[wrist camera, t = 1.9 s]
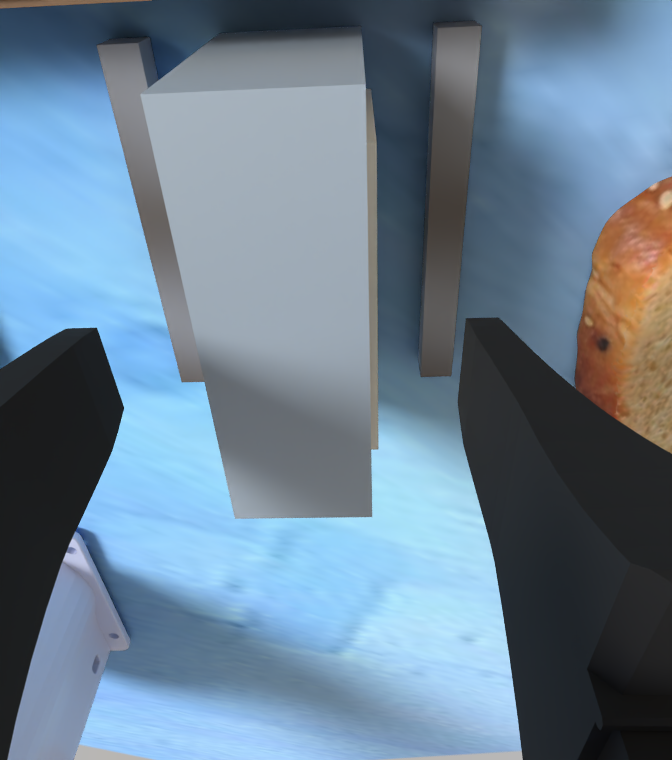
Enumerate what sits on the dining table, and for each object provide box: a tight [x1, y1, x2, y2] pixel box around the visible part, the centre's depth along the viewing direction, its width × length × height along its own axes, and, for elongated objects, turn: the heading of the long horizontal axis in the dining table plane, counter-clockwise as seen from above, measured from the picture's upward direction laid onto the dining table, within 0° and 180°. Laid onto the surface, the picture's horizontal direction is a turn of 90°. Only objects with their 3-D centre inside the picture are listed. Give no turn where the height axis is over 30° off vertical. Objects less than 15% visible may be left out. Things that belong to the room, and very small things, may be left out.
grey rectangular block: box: [140, 26, 378, 519], centre depth 15 cm, size 10×4×7 cm, turn 3°
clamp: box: [0, 0, 482, 382], centre depth 16 cm, size 13×18×4 cm
